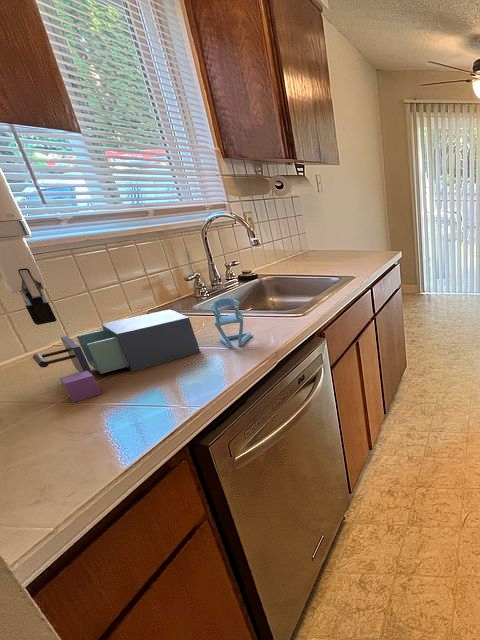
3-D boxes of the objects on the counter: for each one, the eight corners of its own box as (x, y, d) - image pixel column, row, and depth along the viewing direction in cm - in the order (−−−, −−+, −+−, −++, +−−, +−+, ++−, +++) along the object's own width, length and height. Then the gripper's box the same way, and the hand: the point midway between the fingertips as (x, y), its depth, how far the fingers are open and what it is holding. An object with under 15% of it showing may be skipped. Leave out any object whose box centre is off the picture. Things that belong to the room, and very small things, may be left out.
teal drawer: (52, 390, 85) (35, 356, 82) (41, 376, 91) (25, 345, 88) (159, 359, 99) (147, 330, 96) (143, 349, 105) (132, 321, 102)
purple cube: (74, 402, 82) (64, 383, 80) (68, 396, 84) (59, 377, 82) (101, 393, 85) (93, 375, 83) (95, 388, 87) (87, 370, 85)
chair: (219, 350, 106) (205, 306, 101) (220, 340, 113) (208, 299, 108) (251, 344, 110) (240, 302, 105) (251, 335, 116) (240, 295, 111)
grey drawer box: (132, 371, 95) (116, 334, 91) (116, 359, 102) (100, 324, 98) (200, 351, 105) (188, 317, 101) (181, 342, 112) (170, 309, 108)
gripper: (-34, 231, 77) (13, 321, 85) (-25, 235, 69) (27, 334, 77) (21, 227, 83) (61, 312, 90) (36, 231, 75) (79, 323, 82)
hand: (45, 322), depth 83 cm, fingers closed
